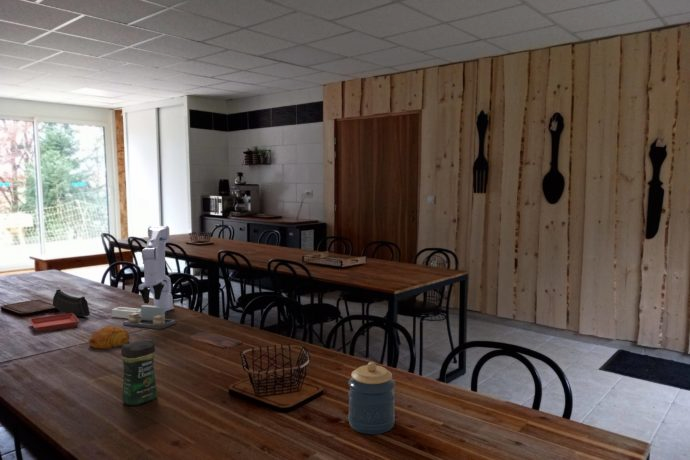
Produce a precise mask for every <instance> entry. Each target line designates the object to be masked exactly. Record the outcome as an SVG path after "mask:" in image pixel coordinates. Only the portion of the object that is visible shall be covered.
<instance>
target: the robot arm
mask: <svg viewBox="0 0 690 460" xmlns="http://www.w3.org/2000/svg"><path fill="white" fill-rule="evenodd" d="M147 236H148V238H149V240H147V242H146V243H145V244H146V245H145V247H144V248H143V249H142V251H141V259H142V264H143V270H144V271H143V273H144V274H143V275H144V281H143V283H140V284H139V285H138V290H137V291H138V292H139V293H140V295H141V298H142V301H143V303H144V304H146V305H148V304H150V295H151V294H152V295H153V296H152V297H153V306H160V307H165V313H166V312H167V311H168V312H169V311H170V310H174V309H175V307H174V303H173V302H174V301H173V300H174V299H173V294H172V293H171V291H172V282H171V277H170V276H168V275H167V274H166V246H167V245H166V244H167V243H169V242H170V227H169V225H155V226H153V225H149V226H148V227H147Z"/></svg>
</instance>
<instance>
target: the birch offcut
mask: <svg viewBox="0 0 690 460" xmlns="http://www.w3.org/2000/svg"><path fill="white" fill-rule="evenodd" d="M163 321H164V316H161V315H157V316H155V317H153V323H161V322H163Z"/></svg>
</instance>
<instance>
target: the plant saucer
mask: <svg viewBox="0 0 690 460" xmlns="http://www.w3.org/2000/svg"><path fill="white" fill-rule="evenodd" d="M77 317H78V316H75V315H74V314H73V313H68V314H66V313H61V314H55V315H47V316H41V317H33V318H30V319H29V321H30V322H31V324H32V326H33V329H34V330H36V331H37V333H43V332H49V331H55V330H61V329H68V328H75V327H76V326H77V325H78V323H79V322H80V320H79V318H77Z"/></svg>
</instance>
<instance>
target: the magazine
mask: <svg viewBox="0 0 690 460" xmlns="http://www.w3.org/2000/svg"><path fill="white" fill-rule="evenodd" d="M52 306H53V307H54V308H56V309H57V310H58V311H61V312H62V313H63V314H68V313H73V314H74V315H75V316H76V317H88V316H90V315H91V314H90V309H89V304H88V300H87V299H86V297H85V296H80V297H77V296H72V295H70V294H67V293H65V292H63V291H62V290H61V289H60V288H59V289H56V291H55V293H54V295H53V298H52Z"/></svg>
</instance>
